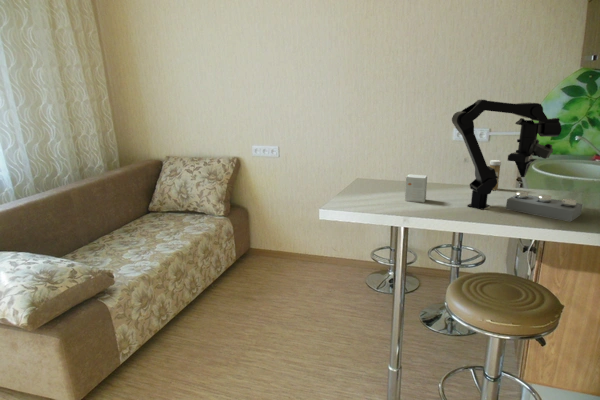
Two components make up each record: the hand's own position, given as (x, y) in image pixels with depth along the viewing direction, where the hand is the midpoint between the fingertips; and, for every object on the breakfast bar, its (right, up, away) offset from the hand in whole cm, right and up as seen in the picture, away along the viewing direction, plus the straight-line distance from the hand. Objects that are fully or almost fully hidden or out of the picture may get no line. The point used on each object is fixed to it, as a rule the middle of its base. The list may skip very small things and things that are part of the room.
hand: (522, 177), depth 158 cm
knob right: (+11, -14, -9) cm, 20 cm away
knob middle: (+5, -12, -4) cm, 14 cm away
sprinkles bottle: (+3, -4, +31) cm, 31 cm away
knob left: (0, -11, +2) cm, 11 cm away
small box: (-38, -9, +15) cm, 41 cm away
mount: (+5, -13, -4) cm, 15 cm away
